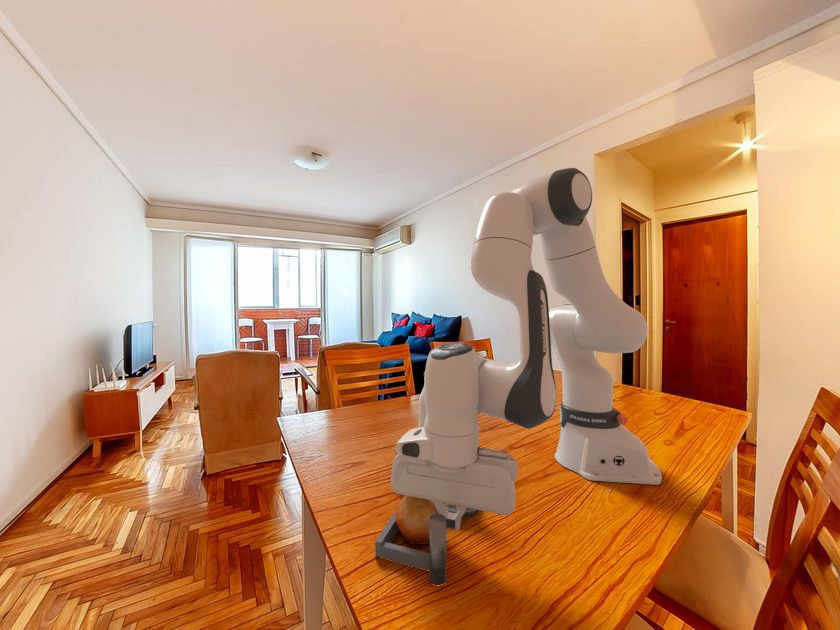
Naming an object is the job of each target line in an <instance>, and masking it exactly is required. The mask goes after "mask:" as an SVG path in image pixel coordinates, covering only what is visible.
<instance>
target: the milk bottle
mask: <svg viewBox="0 0 840 630" xmlns="http://www.w3.org/2000/svg"><path fill="white" fill-rule="evenodd" d="M423 377H424V379H423V380H424V381H425V371H424V372H423ZM426 415H427V409H426V404H425V401H424V387H423V388H422V390H421V393H420V395H419V399H418V428H420V427H424V423H425V419H426Z"/></svg>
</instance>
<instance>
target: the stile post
mask: <svg viewBox="0 0 840 630" xmlns="http://www.w3.org/2000/svg"><path fill="white" fill-rule="evenodd" d="M429 553H430V572H429V582H431V583H432V584H435V585H441V584H444V583H445V582H446V583H447V528H446V517H445V516H444V515H441V514H434V515H432V516H431V517H430V543H429ZM431 583H430V584H431ZM446 583H445V584H446ZM432 584H431V585H432Z"/></svg>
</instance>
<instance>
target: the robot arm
mask: <svg viewBox="0 0 840 630" xmlns="http://www.w3.org/2000/svg"><path fill="white" fill-rule="evenodd" d="M592 202H593V189H592V185H591V183H590V180H589V178H588V177H587V175H586V174H585V173H584V172H582V171H581V170H579V169H578V168H576V167H568V168H561V169H557V170H555V171H553V172H552V173H549V174H546V175H545V174H544V175H542V176H538V177H535V178H533V179H531V180H528V181H526V182H525V183H523V184H521V185H519V186H518V187H515V188H513V189H511V190H510V191H506V192H505V191H504V192H500V193H497V194H495V195H493V196H492V197H490V198H489V199H488V200H487V201H486V202H485V205H484V207H483V210H482V212H481V214H480V217H479V220H478V224H477V228H476V232H475V236H474V241H473V247H472V251H471V257H470V271H471V274H472V277H473V279H474V280H475V282H476V283H477V284H478V286H479V287H481V288H482V289H483V290H484V291H486V292H487V293H489V294H491V295H493V296H496V297H498V298H500V299H503V300H505V301H508V302H510V303H511V304H513V306H514V307H515V308H516V310H517V312H518V321H519V346H520V347H519V351H520V353H519V354H520V358H519V360H518V361H517V362H509V361H503V360H496V359H492V358H486V357H484V356H481V355H479V354H478V353H476V349H475V347H474V346H472V345H471V344H470V343H465V342H450V343H442V344H440V345H437V346H435V347H434V348H432V349H431V350H430V351H429V353H428V356H427V358H426V359H427V360H426V363H425V371H424V372H425V380H424V385H423V388H424V401H425V404H426V409H427V415H426V419H425V423H424V427H420V428H419V427H415V428H411V429H409V430H408V431H407V432H406V433H404V435H402V436H401V437H400V439H399V440H398V441H397V442H396V445H395V453H396V452H397V456H396V455H395V457H394V459H393V460H392V467H391V474H390V475H391V477H390V487H391V489H392V490H393V492H394V493H395V494H397V495H402V496H412V497H417V498H422V499H427V500H432V501H435V507H436V509H437V511H438V512H439V514H441V515H444V516H445V517H446V529H450V530H456V531H459V530H460V527H461V524H462V521H461V517H462V516H463V514H464V513H465V510H466V507H467V508H472V509H477V510H479V511H482V512H488V513H494V514H497V515H503V516H510V515H512V513H513V512H514V511H515V507H516V488H515V487H516V486H515V480H516V479H517V477H518V461H517V460H516V458H515V457H514V456H513V455H511V454H509V452H508V451H505V450H497V449H496V450H494V449H490V448H486V447H480V446H479V445H480V431H479V430H480V426H479V425H480V424H479V421H478V417H477V414H479V413H480V414H482V415H486V416H491V417H492V418H493V417H494V418H496V419H501V420H506V421H507V422H508V423H511V424H514V425H517V426H519V427H522V428H525V429H528V430H529V429H534V428H536V427H539V426H540V425H543V424H544V423H546V422H547V421H548V420H550V418H551V417H553V416H554V414H555V411H556V406H557V386H556V380H555V374H554V370H553V369H554V368H553V359H552V349H553V350H554V353H555V355H556V357H557V360H558V363H559V367H560V370H561V376H562V377H561V378H562V379H561V380H562V401H561V403H560V408H559V423H560V425H561V427H560V434H559V438H558V439H559V440H558V444H557V448H556V451H555V454H554V458H555V460H556V462H557V463H559V465H561V466H563V467H564V468H567V469H569V470H571V471H573V472H576V473H577V474H579V475H580V476H582V477H583V478H585V479H586V480H589V481H595V482H596V481H597V482H609V483H624V484H625V483H626V484H638V485H651V486H652V485H653V486H654V485H656V486H658V485H660V484H661V483H662V482H663V477H662V476H663V475H662V472H661V470H660V468H659V466H658V465H657V464H655V462H654V461H652V460H651V459H650V456H649V452H648V449H647V446H646V445H645V444H644V442H643V441H642V440H641V439H640V438H639V437H638V436H636V435H635V434H634V433H632V432H631V431H630V430H629V429H627V428H626V427H625V425H627V424H628V422H629V419H628V418H627V417H626V415H625V414H622V412H621V411H620V410H618V409H617V408H616V407H613V401H614V399H613V393H614V389H613V387H614V386H613V385H614V383H613V382H614V379H613V377H612V374H611V373H610V372H609V370H607V369H606V368H605V367H603V366H602V365H601V364H600V362H598V359H597V357H596V356H595V352H600V353H606V354H611V355H612V354H628V353H634V352H637V351H638V350H639V349H640V348H641V347H642V346H643V345H644V344H645V342H646V340H647V337H648V330H649V329H648V324H647V321H646V318H645V317H644V315H643V314H642V313H641V312H640V311H639V310H637V309H636V308H633V307H632V306H630V305H628V304H627V303H626V302H625V301H623V300H622V299H621V297H619V296H618V295H617V294H616V292H615V291H614V290H613V289H612V287H611V286H610V284H609V282H607V279H606V276H605V274H604V272H603V269H602V265H601V261H600V258H599V254H598V250H597V247H596V243H595V238H594V235H593V231H592V228H591V227H590V226H591V225H590V224H589V221H588V219H587V215H588V213H589V211H590V209H591V207H592ZM537 235H540V241H541V247H542V252H543V256H544V261H545V264H546V268H547V272H548V276H549V279H550V283H551V287H552V289H553V290H554V291H555V292H556V293H557V294H559V295H560V296H561V297H563V298H565V300H567V301H568V302H569V303H570V305H569V304H567V305H566V304H565V305H564V304H563V305H560V306H555V307H551V308H549V299H548V298H549V297H548V291H547V286H546V282H545V280H544V276H542V274H540V273H539V272H537V271H535V269H534V266H533V263H532V251H533V241H534V236H537ZM446 504H447V505H448V504H452V505H456V510H457V511H458V512H457V513H451V512H448V510H447V508H446V507H447V505H446ZM462 518H463V517H462ZM460 523H461V524H460Z"/></svg>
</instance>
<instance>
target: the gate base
mask: <svg viewBox="0 0 840 630" xmlns="http://www.w3.org/2000/svg"><path fill="white" fill-rule="evenodd" d="M447 507H450V508H455V509H456V505H452V504H447ZM479 511H480V510H477V509H472V508H467V507H466V510H465V513H464V514H463V516H462V518H469V517H474V516H475V515H477V514H478V513H479Z"/></svg>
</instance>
